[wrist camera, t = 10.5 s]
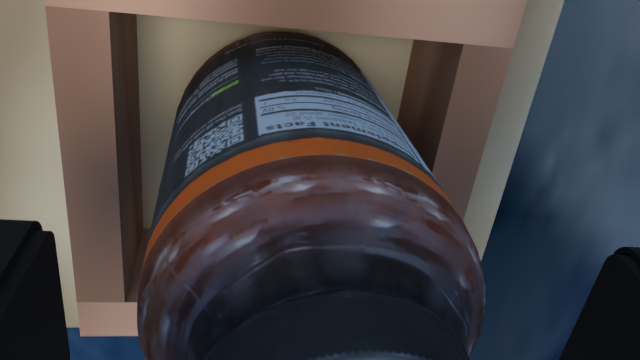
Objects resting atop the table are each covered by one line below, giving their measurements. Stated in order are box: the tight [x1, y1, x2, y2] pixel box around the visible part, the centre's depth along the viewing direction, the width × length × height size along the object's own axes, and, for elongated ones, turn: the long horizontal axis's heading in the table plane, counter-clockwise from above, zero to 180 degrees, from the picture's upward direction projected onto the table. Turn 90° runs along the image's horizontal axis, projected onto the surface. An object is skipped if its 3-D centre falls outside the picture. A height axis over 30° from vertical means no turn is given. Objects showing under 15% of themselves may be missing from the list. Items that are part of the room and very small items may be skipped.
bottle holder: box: [0, 0, 564, 336], centre depth 16 cm, size 16×16×5 cm
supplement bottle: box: [137, 32, 486, 360], centre depth 12 cm, size 6×6×11 cm
